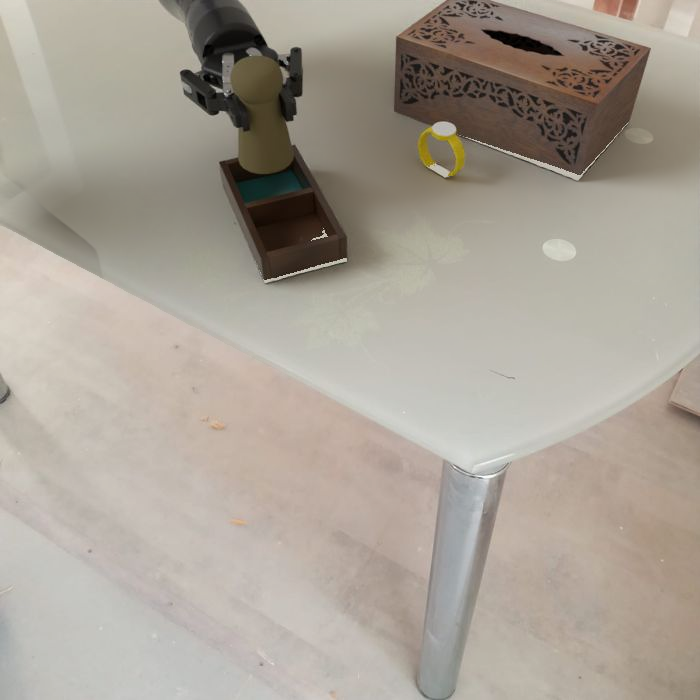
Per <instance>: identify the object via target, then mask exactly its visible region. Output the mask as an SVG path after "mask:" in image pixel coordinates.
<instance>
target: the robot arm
mask: <svg viewBox="0 0 700 700" xmlns="http://www.w3.org/2000/svg"><path fill="white" fill-rule="evenodd" d="M157 1H158V3H159V4H160V5H161V6H162V7H163V9H164V10H165V11H166V12H167V13H169V15H171V16H172V17H174V18H175V19H176V20H177V21H180V22H181V23H183V24H184V26H185V29H186V30H187V34H188V38H189V42H190V44H191V48H192V51H193V52H194V54H195V55H196V56H197V60H198V61H199V63H200V65H201V67H200V70H198V71H196V72H193V71H192V70H190V69H189V68H188V69H182V70H180V71H179V75H180V82H181V85H182V90H183V95H184V96H185V97H186V98H188V99H189V100H190V101H191V102H193V103H194V104H195V105H196V106H197V107H199V108H200V109H201V110H202V111H204V112H205V113H206V114H207V115H209V116H217V115H218V114H220V112H225V114H226V115H228V117H229V119H230V121H231V123H232V125H233V127H234V128H235V129H238V128H240V127H241V129H242V131H243V132H245V131H249V130H250V126H249V118H248V113H247V111H246V109H245V107H244V105H243V103H242V101H241V100H240V99H239V97H238V96H237V95H236V94H235V93H234V91H233V88H232V85H231V80H230V77H231V71H232V69H233V67H234V65H235V64H236V63H237V62H238V61H240V60H241V59H243V58H246V57H249V56H265V57H269V58H271V59H273V60H274V61H275V62H276V63H277V64H278V65H279V66H280V68H283V70H284V72H286V73H287V76H288V77H285V76H284V75H283V84H282V90H281V91H280V93H279V96H280V102H281V108H282V114H283V117H284V119H285V120H286V123H289V122H293V121H294V119H295V117H294V116H297V115H298V109H297V107H298V106H297V99H296V98H300V97H302V96H303V92H304V89H303V88H304V63H303V52H302V51H303V50H302V48H301V47H299V46H295V47H292V48H290V51H289V53H285V54H278V52H277V51H276V50H275V49H273V48H271V47H270V46H268V43H267V41H266V39H265V37H264V36H263V34H262V32H261V31H260V29H259V27H258V26H257V24H256V22H255V21H254V19H253V18H252V15H251V14H250V12H249V11H248V9H247V8H246V6H245V5H244V4H242V2H241V1H240V0H157ZM215 88H216V89H218V90H222V92H221V91H220V92H217V90H216V89H215Z"/></svg>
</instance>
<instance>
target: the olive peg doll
mask: <svg viewBox="0 0 700 700" xmlns="http://www.w3.org/2000/svg"><path fill="white" fill-rule="evenodd" d="M283 76H284V75H283V72H282V69H281V67H280V66H279V65H278V64H277V63H276V62H275V61H274V60H273V59H271V58H269V57H265V56H249V57H246V58H243V59H241V60H240V61H238V62H237V63H236V64H235V65H234V67H233V69H232V71H231V77H230V80H231V85H232V88H233V91H234V93H235V94H236V95H237V96H238V97H239V99H240V100H241V101H242V103H243V105H244V107H245V109H246V111H247V113H248V118H249V126H250V130H249V131H245V132H243V131H242V129H241V127H240V128H237V130H238V131H237V132H238V133H237V134H238V136H237V137H238V140H237V141H238V142H237V143H238V145H237V147H238V148H237V149H238V150H237V154H238V157H237V158H238V160H239V163H240V165H241V166H242V167H243V168H244V169H246V170H248V171H250V172H253V173H257V174H270V173H275V172H278V171H281V170H283V169H285V168H286V167H288V166H289V165H290V164H291V162H292V161H293V158H294V153H293V148H292V145H293V144H292V140H291V137H290V133H289V128H288V124H287V122H286V120H285V119H284V117H283V114H282V108H281V102H280V96H279V93H280V91H281V90H282V84H283Z"/></svg>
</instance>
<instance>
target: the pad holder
mask: <svg viewBox="0 0 700 700" xmlns="http://www.w3.org/2000/svg"><path fill="white" fill-rule="evenodd" d="M292 148H293V153H294V158H293V161H292V162H291V164H290V165H289V166H288V167H286V168H285V169H283V170H281V171H278V172H275V173H270V174H257V173H253V172H250V171H248V170H246V169H244V168H243V167H242V166H241V165H240V163H239V160H238V157H233V158H229V159H226V160H225V159H223V160H220V161H218V165H219V171H220V176H221V182H222V183H221V184H222V187H223V189H224V192H225V194H226V196H227V199H228V202H229V204H230V207H231V209H232V211H233V213H234V216H235V218H236V220H237V223H238V225H239V227H240V230H241V233H242V234H244V235H243V237H244V239H245V242H246V241H247V242H246V244H247V243H248V244H247V246H248V245H249V246H248V249H249V248H250V249H249V251H250V250H251V251H250V253H251V252H252V253H251V255H252V254H253V256H252V258H253V257H254V258H253V260H254V259H255V260H254V262H255V261H256V263H257V265H258V267H259V270H260V272H261V274H262V277H263V279H264V280H267V279H271V278H277V277H279V276H283V275H286V274H290V273H294V272H297V271H301V270H304V269H308V268H310V267H315V266H317V265H321V264H325V263H329V262H333V261H337V260H340V259H343V258H347V259H348V237H347V235H346V232H345V230H344V229H343V227H342V226H341V224H340V222H339V220H338V219H337V217H336V215H335V213H334V212H333V209H332V208H331V206H330V204H329V202H328V201H327V198H326V197H325V195H324V193H323V192H322V190H321V188H320V186H319V184H318V183H317V181H316V179H315V177H314V176H313V173H312V171H311V170H310V168H309V167H308V165H307V163H306V161H305V160H304V158H303V155H302V153H301V152H300V150H299V148H298V147H297V145H296V144H295V143H294V144H292ZM323 228H324V229H323ZM323 230H325V233H326V234H327V236H328V237H324V238H320V239H316V240H312V239H313V238H316V237H320V236H322V235H323V234H324V233H322V231H323ZM311 240H312V241H311ZM256 263H255V264H256ZM257 265H256V266H257ZM258 267H257V268H258ZM259 270H258V271H259ZM260 272H259V273H260ZM261 274H260V275H261ZM262 277H261V278H262ZM263 279H262V280H263Z"/></svg>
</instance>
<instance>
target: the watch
mask: <svg viewBox="0 0 700 700" xmlns="http://www.w3.org/2000/svg"><path fill="white" fill-rule="evenodd" d="M429 134H431V136H432V137H433V138H434V139H436V140H437V141H440V142H441V141H442V142H448V144H449V146H450V147H451V149H452V150H453V154H454V157H455V162H454V163H455V164H454V168H453V169H452V170H453V171H452V170H451V171H452V172H450V173H449V174H448V176H452V177H454V176H455V175H456V174H458V173H459V172H460V171H461V170H462V169H463V167H464V166H465V160H466V153H465V149H464V145H463V143H462V141H461V140H460V138H459V136H458V135H456V127H455V126H454V125H453V124H452V123H449V122H437V123H435V124H434V125H433V126H432V125H430V127H428V128H427V129H425V130H424V131H423V132H422V133H420V135H419V137H418V141H417V149H418V156H419V158H420V160H421V162H422V164H423V166H424V167H425V166H428V167H430V165H433V164H435V163H437V162H436V161H435V160H434V158H433V157H432V155H431V154H430V152H429V148H428V138H429ZM434 166H435V165H434Z"/></svg>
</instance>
